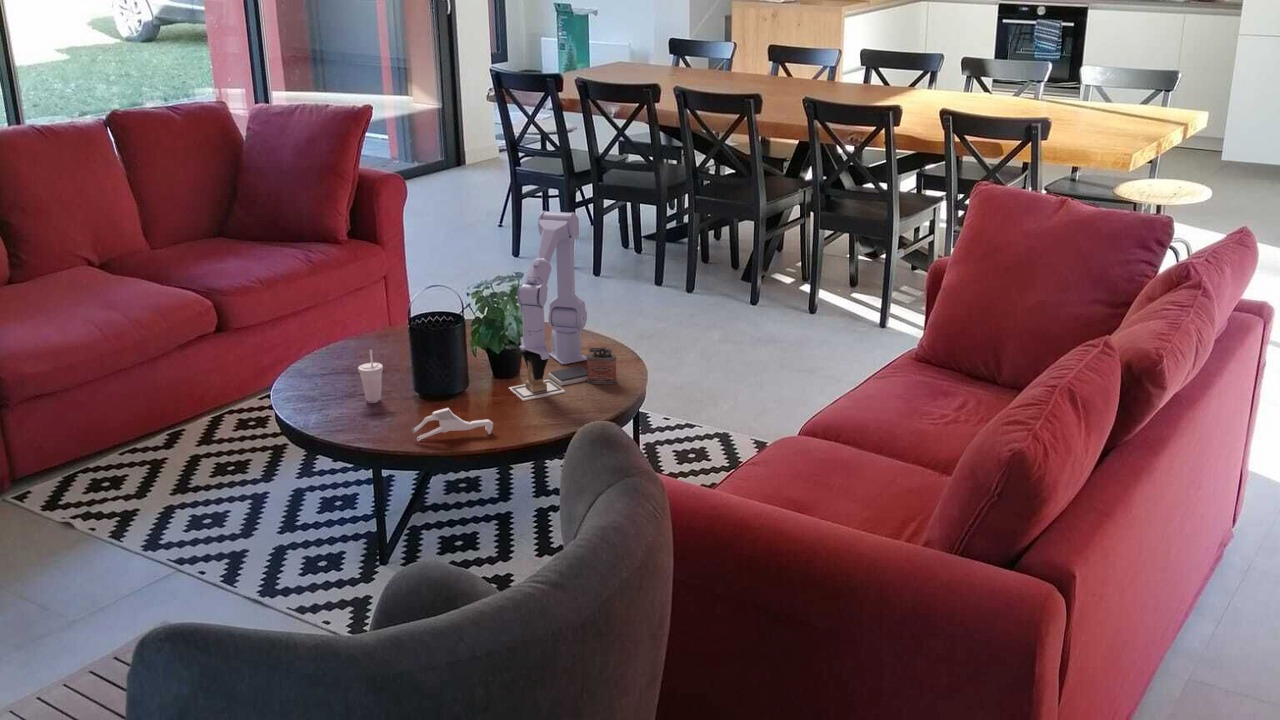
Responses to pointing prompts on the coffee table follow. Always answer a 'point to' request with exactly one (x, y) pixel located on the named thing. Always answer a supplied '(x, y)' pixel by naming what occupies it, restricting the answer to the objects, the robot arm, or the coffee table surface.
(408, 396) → the coffee table surface
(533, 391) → the stamp
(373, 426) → the coffee table surface
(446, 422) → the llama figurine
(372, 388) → the smoothie
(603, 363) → the lighter
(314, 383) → the coffee table surface
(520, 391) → the marked card
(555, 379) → the ink pad
